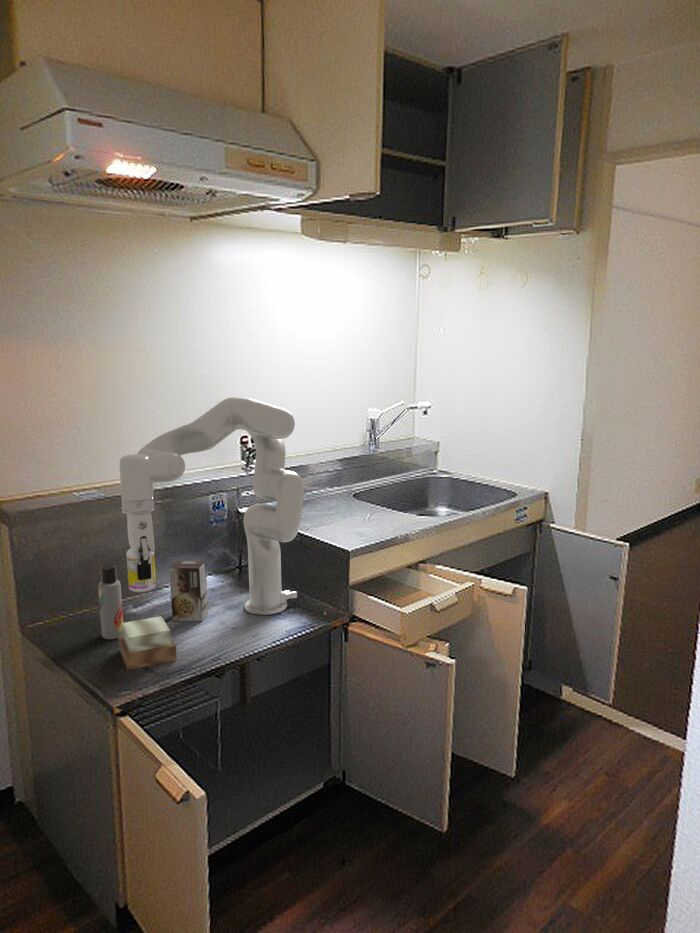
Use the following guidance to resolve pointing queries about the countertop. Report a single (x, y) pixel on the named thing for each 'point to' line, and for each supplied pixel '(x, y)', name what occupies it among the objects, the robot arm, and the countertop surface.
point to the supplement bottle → (132, 572)
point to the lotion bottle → (110, 603)
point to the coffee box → (188, 590)
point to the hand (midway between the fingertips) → (141, 574)
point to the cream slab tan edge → (146, 643)
